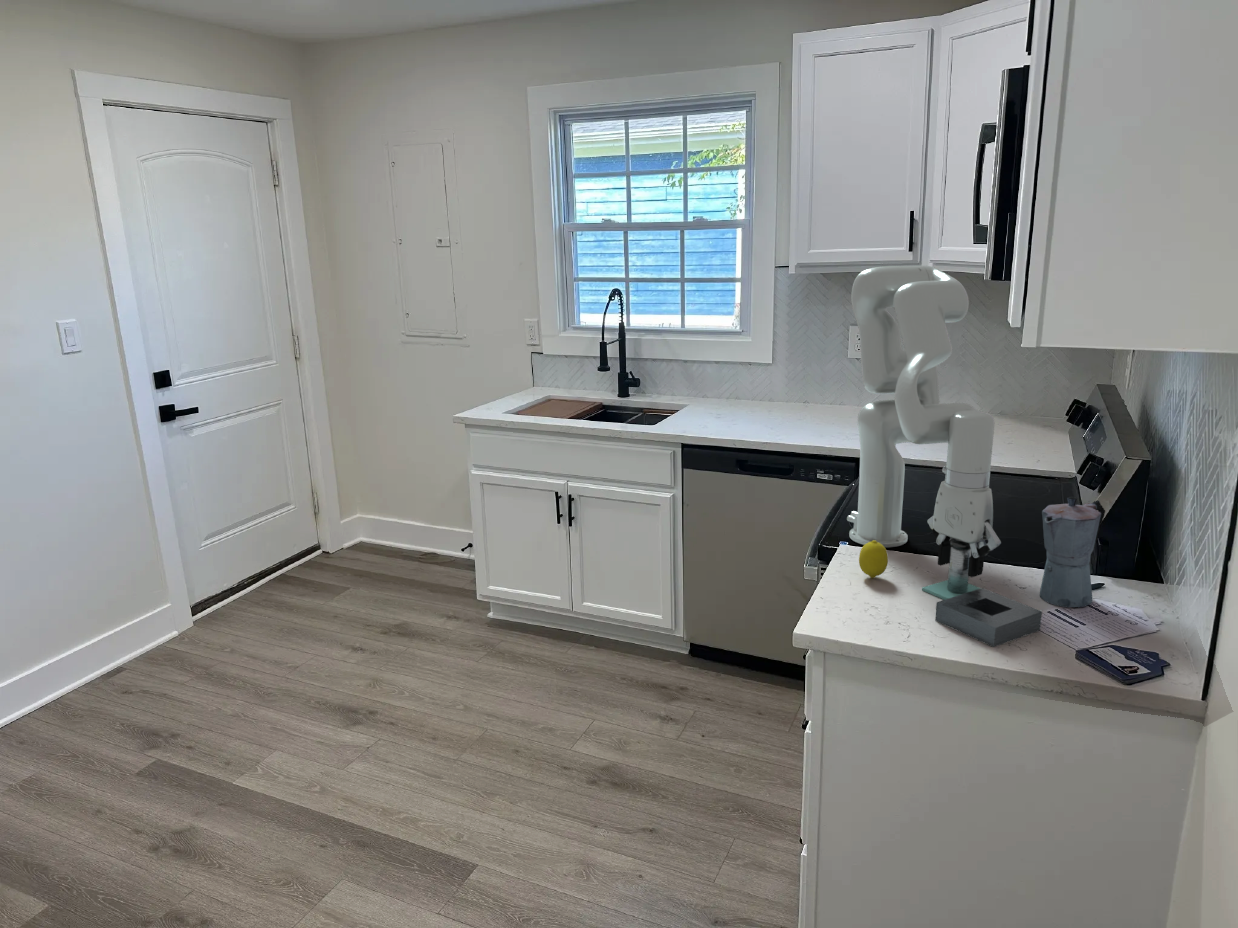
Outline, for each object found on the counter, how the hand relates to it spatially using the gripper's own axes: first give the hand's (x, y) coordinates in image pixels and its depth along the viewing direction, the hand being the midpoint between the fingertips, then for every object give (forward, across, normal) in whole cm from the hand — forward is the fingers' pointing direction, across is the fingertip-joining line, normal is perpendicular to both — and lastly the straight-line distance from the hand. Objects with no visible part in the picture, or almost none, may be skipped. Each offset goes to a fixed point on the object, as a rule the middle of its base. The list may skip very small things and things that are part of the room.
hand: (959, 568), depth 159 cm
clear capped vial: (+4, 0, 0) cm, 4 cm away
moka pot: (+5, +12, +15) cm, 20 cm away
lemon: (+5, -14, -8) cm, 17 cm away
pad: (+5, 0, 0) cm, 5 cm away
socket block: (+5, +12, -7) cm, 15 cm away
